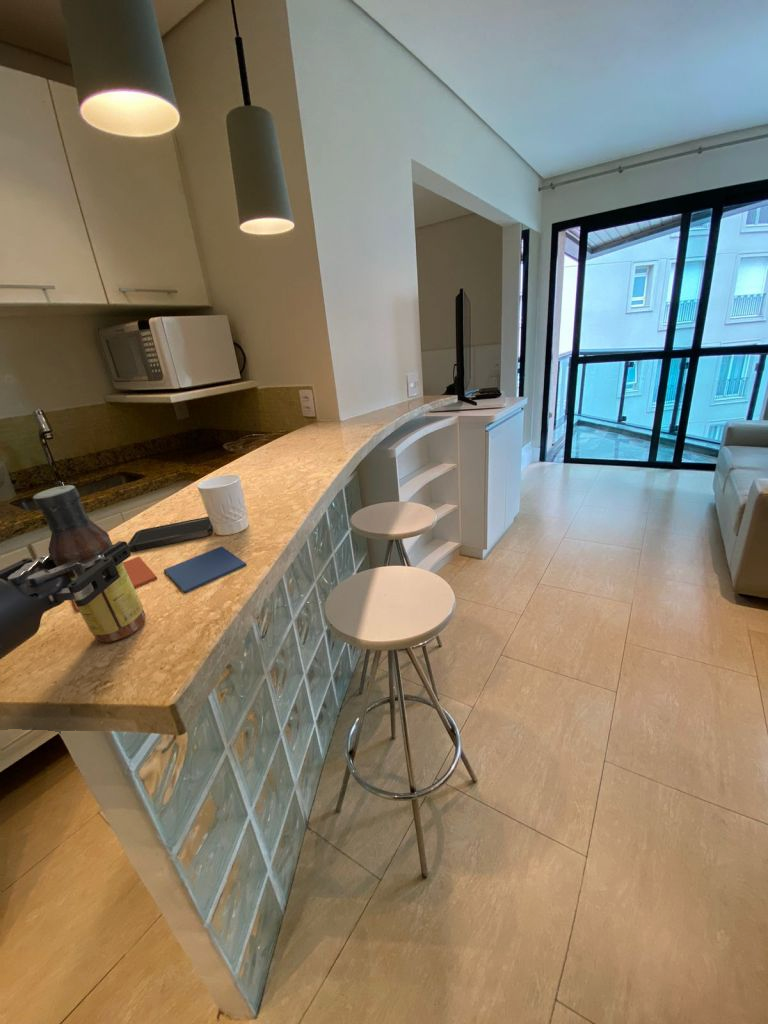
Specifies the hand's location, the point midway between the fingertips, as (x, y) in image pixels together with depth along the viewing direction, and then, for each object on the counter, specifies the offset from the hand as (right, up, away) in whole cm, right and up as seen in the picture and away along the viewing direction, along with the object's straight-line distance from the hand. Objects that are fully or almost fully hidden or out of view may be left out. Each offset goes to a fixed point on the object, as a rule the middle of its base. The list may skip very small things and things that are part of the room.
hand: (102, 548), depth 52 cm
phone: (-6, 0, +29) cm, 30 cm away
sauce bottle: (+1, -11, +2) cm, 11 cm away
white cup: (+5, +1, +30) cm, 30 cm away
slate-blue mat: (+6, -5, +15) cm, 17 cm away
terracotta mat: (-9, -7, +15) cm, 18 cm away
